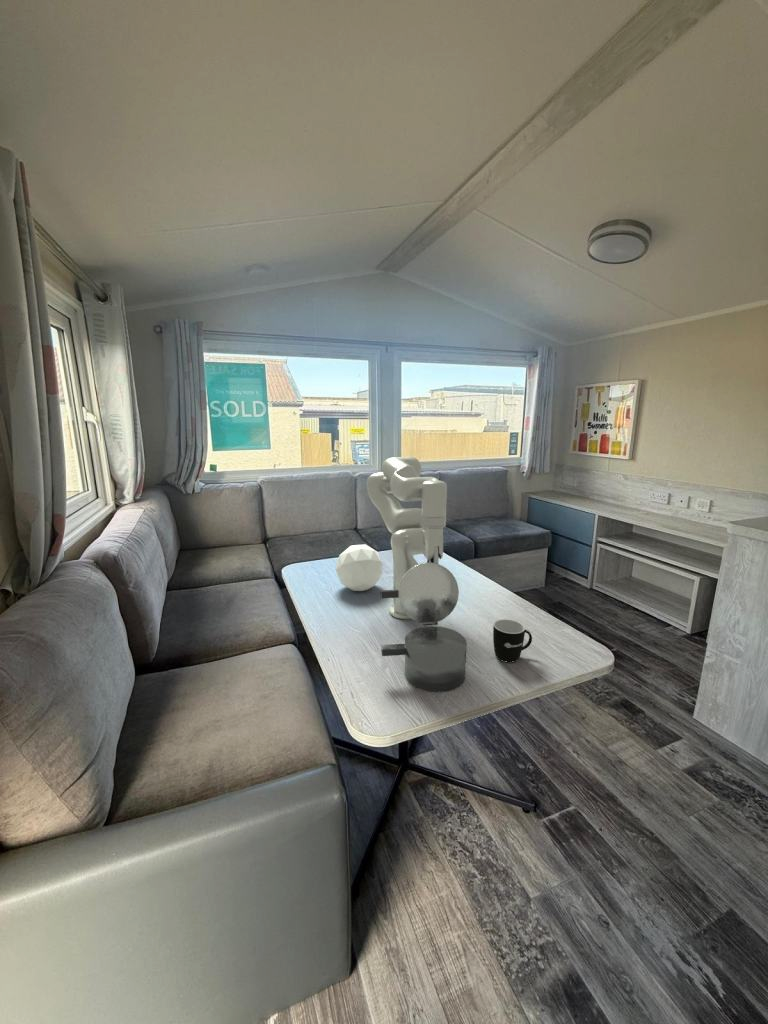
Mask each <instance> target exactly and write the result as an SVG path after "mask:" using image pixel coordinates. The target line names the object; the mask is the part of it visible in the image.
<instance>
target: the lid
mask: <svg viewBox="0 0 768 1024" xmlns="http://www.w3.org/2000/svg"><path fill="white" fill-rule="evenodd" d="M459 593H460V591H459V584H458V581H457V579H456V577H455V575H454V574H453V573H452V572H451V571H450V569H448V568H446V567H445V566H443V565H441V564H437V563H432V562H427V561H426V562H422V563H418V565H415V566H414V567H412V568H411V569H409V570H408V571H407V572H406V573H405V574H404V576H403V577H402V579H401V581H400V584H399V588H398V590H393V589H381V590H380V599H393V598H399V602H400V605H401V607H402V609H403V611H404V612H405V613H406V614H407V615H408V616H409V617H410V618H411V619H410V620H413V621H415V622H418V623H419V625H420V627H426V626H438V625H439V623H438V622H441V621H443V620H445V619H446V618H447V617H449V616H450V615H451V613H452V612H453V611H454V610H455V608H456V606H457V604H458V601H459Z"/></svg>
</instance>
